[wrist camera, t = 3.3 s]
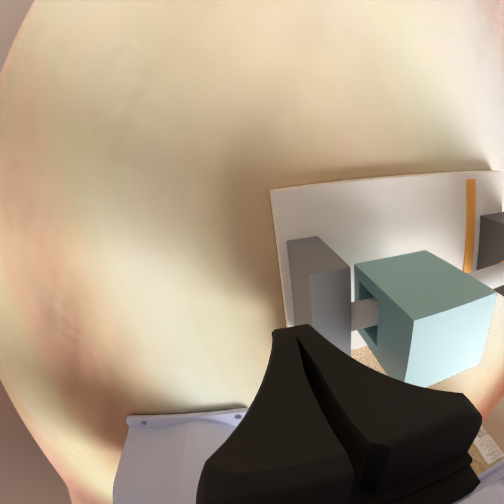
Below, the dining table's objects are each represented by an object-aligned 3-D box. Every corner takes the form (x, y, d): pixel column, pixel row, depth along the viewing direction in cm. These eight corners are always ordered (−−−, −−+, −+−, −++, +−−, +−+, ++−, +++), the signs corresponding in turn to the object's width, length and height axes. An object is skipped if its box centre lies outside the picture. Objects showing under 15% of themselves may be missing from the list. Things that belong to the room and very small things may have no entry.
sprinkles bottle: (424, 428, 23) (482, 526, 10) (458, 396, 22) (527, 489, 9) (440, 436, 24) (492, 521, 11) (470, 407, 23) (531, 489, 10)
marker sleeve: (354, 326, 14) (401, 396, 9) (353, 263, 13) (413, 320, 8) (421, 308, 14) (479, 363, 9) (425, 249, 13) (497, 292, 8)
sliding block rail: (288, 353, 18) (315, 441, 12) (269, 189, 15) (300, 215, 9) (487, 298, 19) (546, 341, 12) (496, 170, 16) (573, 185, 9)
